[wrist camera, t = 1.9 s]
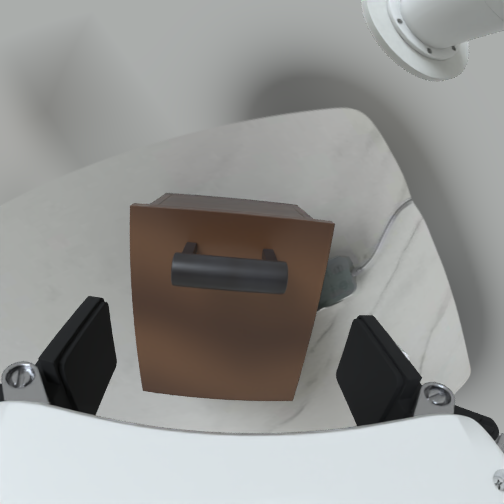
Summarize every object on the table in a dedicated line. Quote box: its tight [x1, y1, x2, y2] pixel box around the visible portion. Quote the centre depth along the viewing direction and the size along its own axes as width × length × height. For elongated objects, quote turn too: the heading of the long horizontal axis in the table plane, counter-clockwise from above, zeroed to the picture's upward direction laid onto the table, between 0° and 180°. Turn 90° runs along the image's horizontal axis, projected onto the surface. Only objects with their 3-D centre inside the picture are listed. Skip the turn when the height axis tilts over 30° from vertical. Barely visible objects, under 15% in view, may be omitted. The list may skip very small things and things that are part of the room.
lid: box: [130, 203, 335, 401], centre depth 19 cm, size 16×14×6 cm
